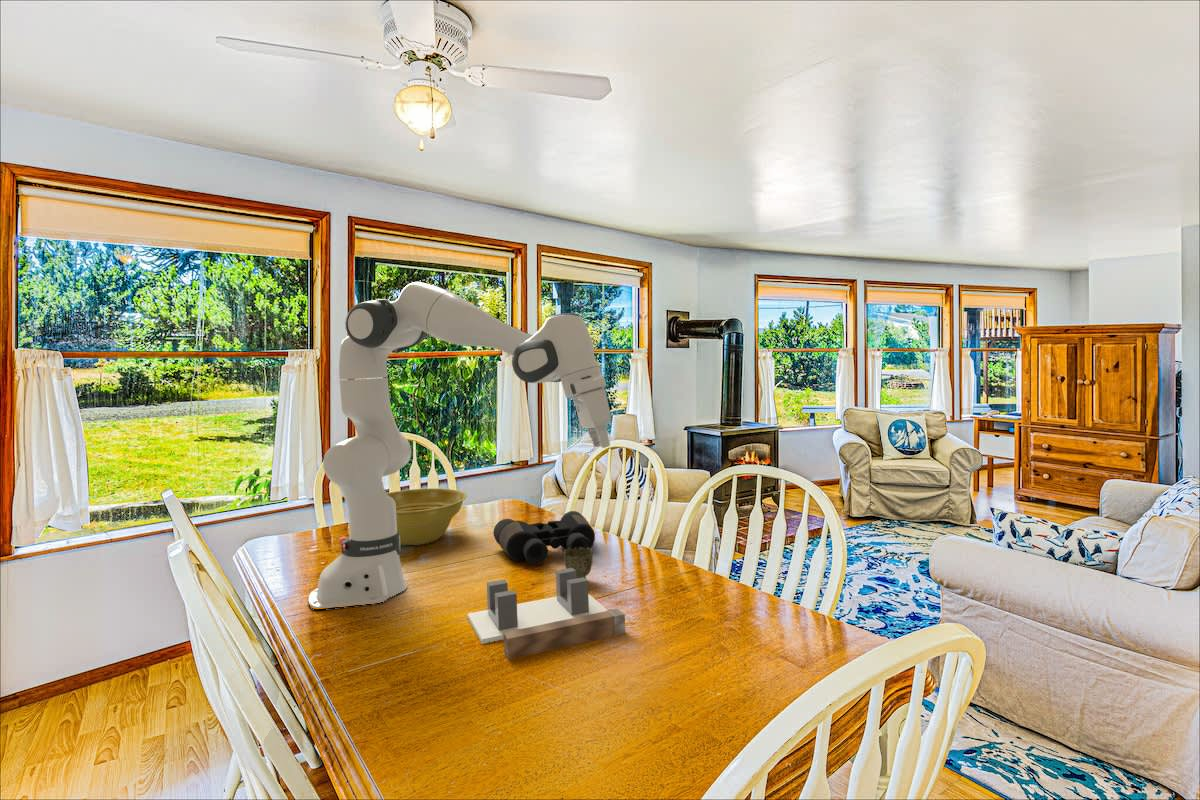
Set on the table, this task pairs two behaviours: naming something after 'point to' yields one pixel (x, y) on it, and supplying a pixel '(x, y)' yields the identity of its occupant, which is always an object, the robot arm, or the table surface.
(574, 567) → the cup
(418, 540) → the planter bowl
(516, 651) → the walnut bar
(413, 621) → the table surface
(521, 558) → the binoculars
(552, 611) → the board
